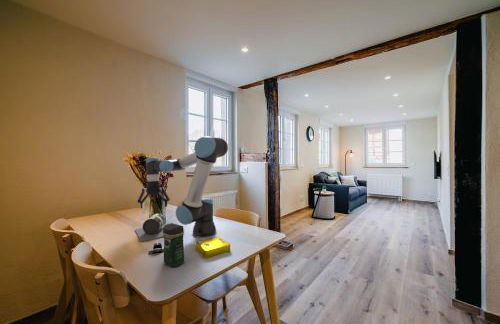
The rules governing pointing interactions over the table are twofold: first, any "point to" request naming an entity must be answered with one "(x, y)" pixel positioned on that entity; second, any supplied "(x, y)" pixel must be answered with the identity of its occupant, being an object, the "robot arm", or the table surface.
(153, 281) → the table surface
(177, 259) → the coffee jar
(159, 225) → the coffee can
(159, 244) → the dark grey angular piece
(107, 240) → the table surface
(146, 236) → the rubber mat
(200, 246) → the element tile
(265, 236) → the table surface
